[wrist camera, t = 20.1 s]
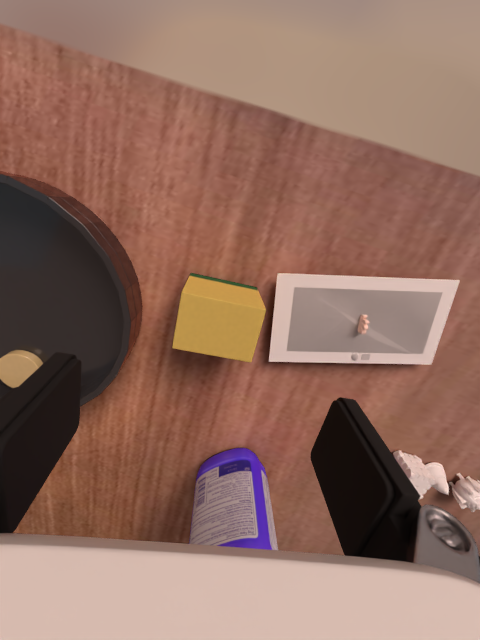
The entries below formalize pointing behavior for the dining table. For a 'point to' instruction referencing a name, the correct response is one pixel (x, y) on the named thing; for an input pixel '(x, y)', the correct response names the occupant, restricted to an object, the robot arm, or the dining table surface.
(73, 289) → the pan
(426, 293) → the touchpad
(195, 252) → the dining table surface
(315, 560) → the robot arm
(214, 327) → the sponge
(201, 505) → the bottle
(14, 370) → the disc
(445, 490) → the game pieces
